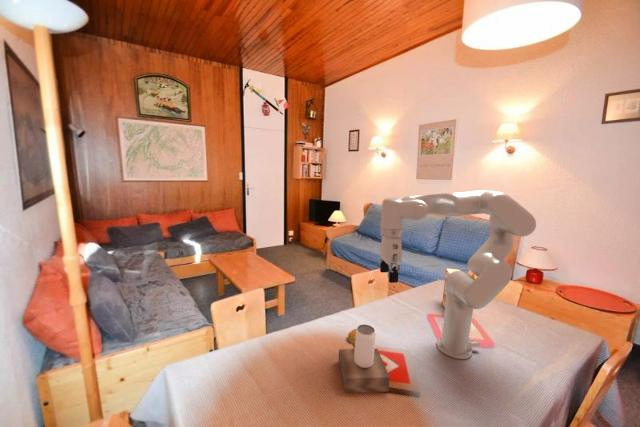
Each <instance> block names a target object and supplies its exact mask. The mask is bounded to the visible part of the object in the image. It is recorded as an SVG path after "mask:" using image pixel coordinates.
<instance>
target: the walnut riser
mask: <svg viewBox="0 0 640 427" xmlns="http://www.w3.org/2000/svg"><path fill="white" fill-rule="evenodd" d="M354 351H355V348H341V349H339V350H338V366H339V372H340V376H341V380H342V385H343V390H344V393H345V394H346V393H347V394H349V393H381V392H385V393H386V392H389V391H390V383H391V382H390V380H391V377H390V374H389V373H388V370H387V368H386V365H385V364H384V361H383V359H382V358H383V357H382V356H381V354H380V352H379V350H378V348H375V349H374V361H373V365H372V366H371V367H369V368H362V367H359V366H358V365H357V364H356V363H355V362H354Z"/></svg>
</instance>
